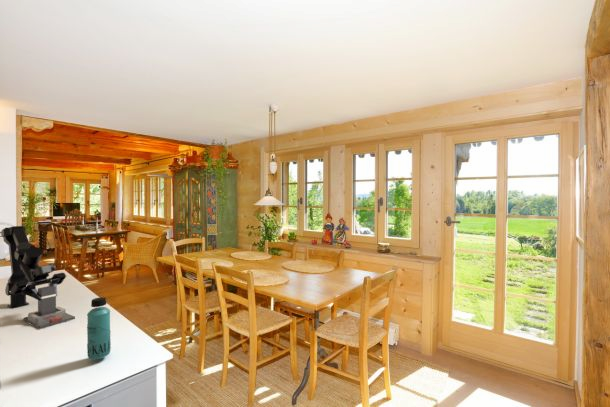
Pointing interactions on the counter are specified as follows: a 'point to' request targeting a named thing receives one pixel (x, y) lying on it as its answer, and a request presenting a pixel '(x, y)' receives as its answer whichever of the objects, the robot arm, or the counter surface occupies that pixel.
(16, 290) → the robot arm
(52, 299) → the plug block
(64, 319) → the grey socket base
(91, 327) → the beverage bottle
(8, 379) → the counter surface
